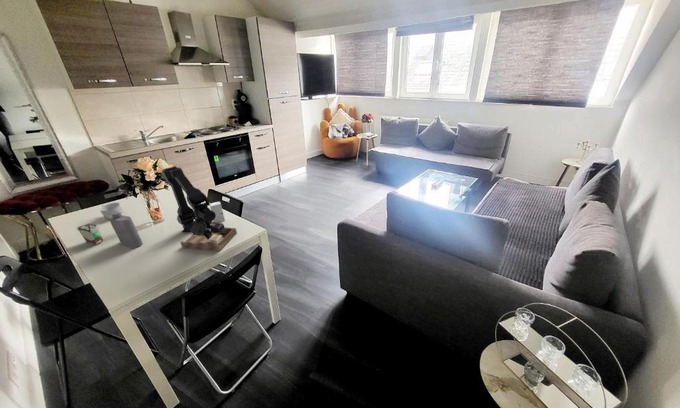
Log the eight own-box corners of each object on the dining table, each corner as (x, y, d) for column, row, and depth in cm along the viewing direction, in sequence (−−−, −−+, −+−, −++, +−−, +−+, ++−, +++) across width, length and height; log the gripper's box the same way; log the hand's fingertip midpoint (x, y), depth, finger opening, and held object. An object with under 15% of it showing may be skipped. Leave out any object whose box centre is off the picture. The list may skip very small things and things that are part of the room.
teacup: (127, 215, 179) (122, 204, 175) (108, 222, 171) (102, 211, 167) (118, 210, 185) (113, 200, 182) (99, 217, 177) (94, 206, 174)
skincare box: (215, 223, 165) (210, 206, 159) (213, 220, 168) (208, 203, 162) (225, 220, 168) (220, 203, 162) (224, 217, 171) (219, 201, 165)
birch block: (209, 244, 142) (208, 239, 140) (215, 238, 146) (213, 234, 145) (217, 245, 141) (216, 240, 140) (223, 239, 145) (221, 235, 144)
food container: (110, 239, 153) (102, 224, 148) (99, 245, 148) (90, 230, 143) (96, 235, 157) (88, 221, 152) (84, 241, 152) (76, 227, 147)
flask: (117, 243, 149) (101, 213, 139) (128, 238, 153) (113, 208, 144) (134, 249, 143) (118, 218, 134) (144, 243, 148) (130, 213, 138)
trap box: (182, 247, 143) (180, 241, 142) (202, 230, 158) (200, 224, 156) (220, 251, 139) (218, 245, 137) (237, 233, 154) (235, 227, 152)
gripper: (174, 222, 131) (184, 247, 138) (208, 225, 128) (216, 250, 135) (189, 211, 141) (198, 235, 148) (221, 213, 137) (228, 238, 145)
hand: (209, 240), depth 144 cm, fingers closed
